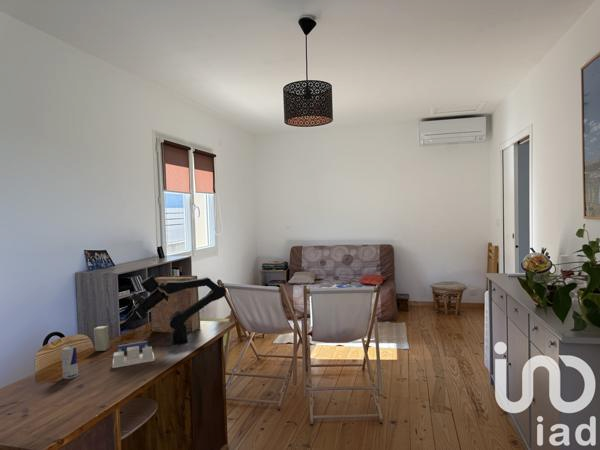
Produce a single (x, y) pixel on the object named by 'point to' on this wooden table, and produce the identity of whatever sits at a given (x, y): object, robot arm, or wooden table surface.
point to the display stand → (133, 357)
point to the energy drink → (69, 362)
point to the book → (175, 306)
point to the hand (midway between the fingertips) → (124, 320)
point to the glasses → (125, 346)
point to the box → (101, 338)
